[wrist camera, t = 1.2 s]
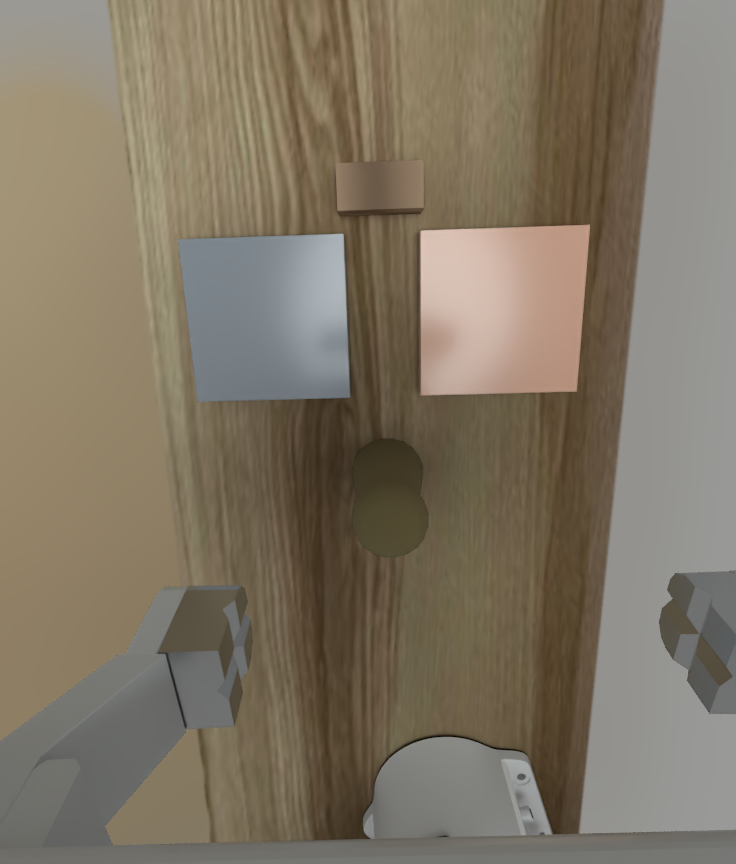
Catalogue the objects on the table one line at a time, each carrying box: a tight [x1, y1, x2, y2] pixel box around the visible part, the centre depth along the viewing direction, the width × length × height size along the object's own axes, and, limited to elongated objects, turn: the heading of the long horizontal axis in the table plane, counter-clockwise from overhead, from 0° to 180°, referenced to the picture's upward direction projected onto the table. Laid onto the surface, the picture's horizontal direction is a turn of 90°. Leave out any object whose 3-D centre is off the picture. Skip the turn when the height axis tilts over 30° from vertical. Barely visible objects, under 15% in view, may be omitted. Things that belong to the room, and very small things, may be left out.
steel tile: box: [178, 234, 351, 402], centre depth 39 cm, size 12×12×2 cm
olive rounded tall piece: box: [352, 439, 428, 557], centre depth 38 cm, size 6×6×11 cm
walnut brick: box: [335, 160, 424, 216], centre depth 37 cm, size 6×3×3 cm, turn 92°
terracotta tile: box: [418, 225, 590, 395], centre depth 39 cm, size 12×12×2 cm
